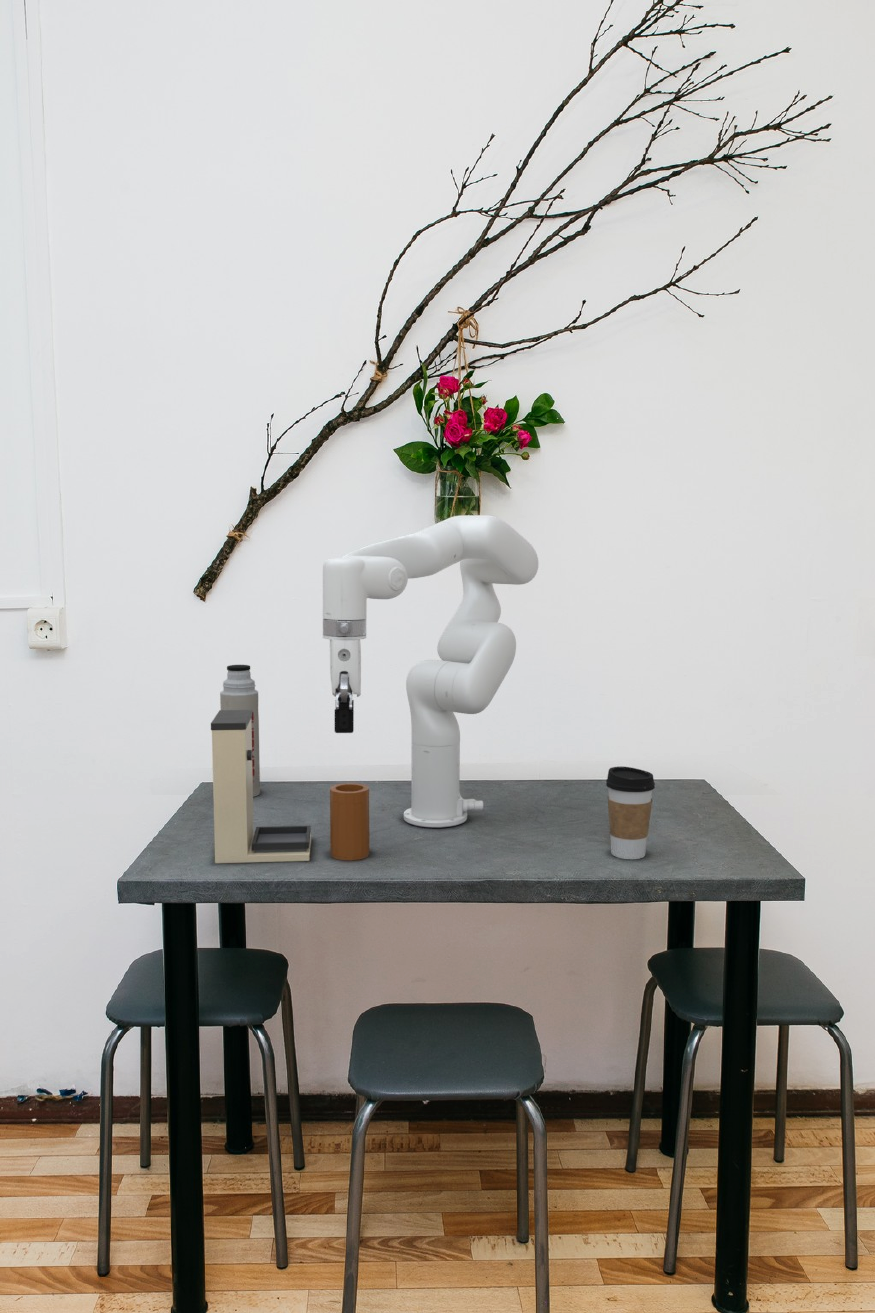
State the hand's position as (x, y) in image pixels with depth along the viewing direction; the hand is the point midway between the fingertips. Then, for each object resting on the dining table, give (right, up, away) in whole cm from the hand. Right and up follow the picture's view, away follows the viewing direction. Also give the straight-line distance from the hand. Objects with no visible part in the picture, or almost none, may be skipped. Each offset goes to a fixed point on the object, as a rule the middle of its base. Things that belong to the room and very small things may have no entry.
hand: (344, 727), depth 173 cm
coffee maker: (-14, -22, +3) cm, 27 cm away
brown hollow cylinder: (+1, -23, +2) cm, 23 cm away
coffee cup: (+50, -23, +2) cm, 55 cm away
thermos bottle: (-26, -18, +41) cm, 52 cm away
